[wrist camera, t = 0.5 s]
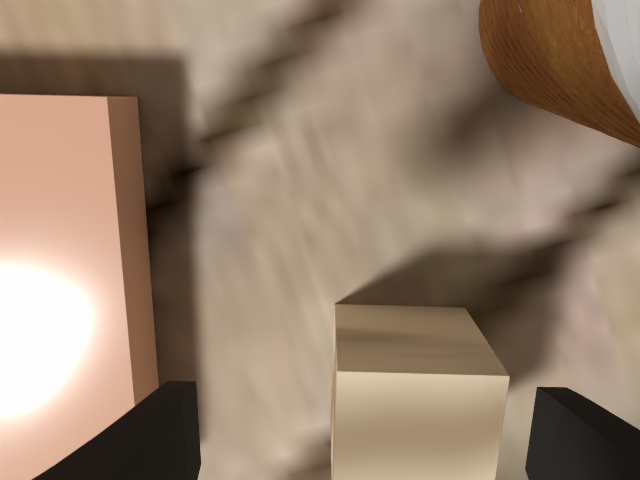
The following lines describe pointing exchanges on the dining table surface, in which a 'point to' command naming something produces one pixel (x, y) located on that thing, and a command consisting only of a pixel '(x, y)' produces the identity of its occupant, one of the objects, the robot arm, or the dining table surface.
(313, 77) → the dining table surface
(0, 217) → the terracotta base
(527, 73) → the disposable coffee cup
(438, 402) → the birch block
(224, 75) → the dining table surface
